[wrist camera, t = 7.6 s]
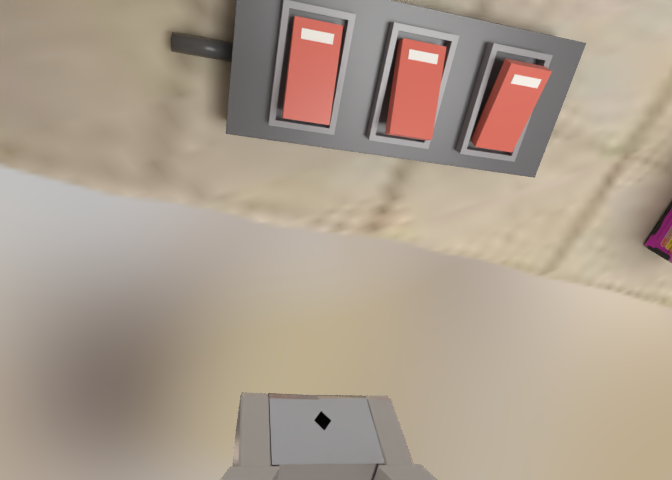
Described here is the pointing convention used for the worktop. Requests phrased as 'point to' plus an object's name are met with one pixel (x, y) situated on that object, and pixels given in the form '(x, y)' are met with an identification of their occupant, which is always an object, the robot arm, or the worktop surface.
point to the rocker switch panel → (387, 79)
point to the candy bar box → (662, 237)
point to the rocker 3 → (510, 105)
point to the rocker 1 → (312, 70)
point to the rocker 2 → (415, 89)
